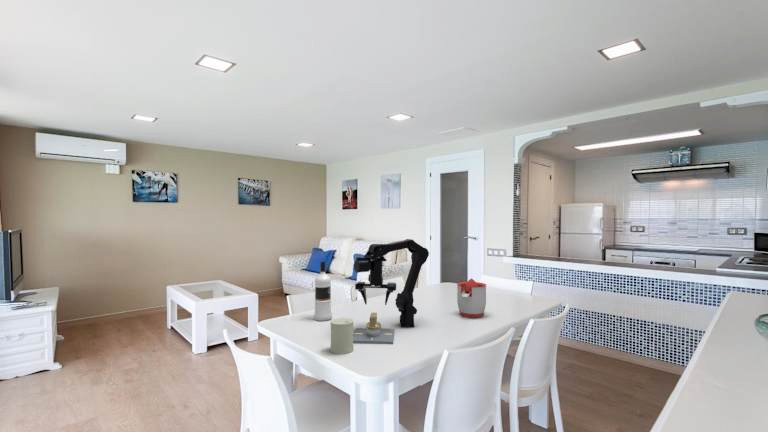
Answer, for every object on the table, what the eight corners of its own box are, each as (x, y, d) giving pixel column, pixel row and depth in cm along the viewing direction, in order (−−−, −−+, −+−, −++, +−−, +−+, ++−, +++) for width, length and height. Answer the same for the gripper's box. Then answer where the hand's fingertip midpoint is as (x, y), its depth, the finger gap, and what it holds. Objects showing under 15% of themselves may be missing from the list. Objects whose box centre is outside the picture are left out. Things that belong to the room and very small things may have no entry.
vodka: (313, 317, 195) (313, 260, 196) (331, 316, 197) (331, 260, 198) (314, 322, 186) (314, 262, 187) (332, 320, 188) (332, 262, 189)
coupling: (381, 324, 167) (381, 312, 167) (379, 330, 158) (379, 318, 158) (367, 324, 168) (367, 312, 168) (365, 330, 159) (365, 317, 159)
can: (343, 355, 140) (343, 324, 141) (325, 351, 145) (325, 320, 145) (358, 348, 148) (358, 318, 148) (340, 344, 153) (340, 315, 153)
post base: (394, 330, 171) (394, 322, 172) (392, 344, 154) (392, 334, 154) (356, 330, 173) (356, 321, 173) (350, 343, 155) (350, 333, 155)
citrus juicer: (450, 317, 195) (450, 279, 195) (463, 310, 209) (463, 275, 210) (479, 322, 186) (479, 282, 186) (490, 314, 200) (490, 277, 201)
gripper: (397, 269, 179) (396, 301, 178) (359, 268, 180) (358, 300, 180) (395, 272, 168) (395, 306, 167) (355, 271, 169) (354, 305, 169)
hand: (375, 304), depth 171 cm, fingers open, 9 cm apart
